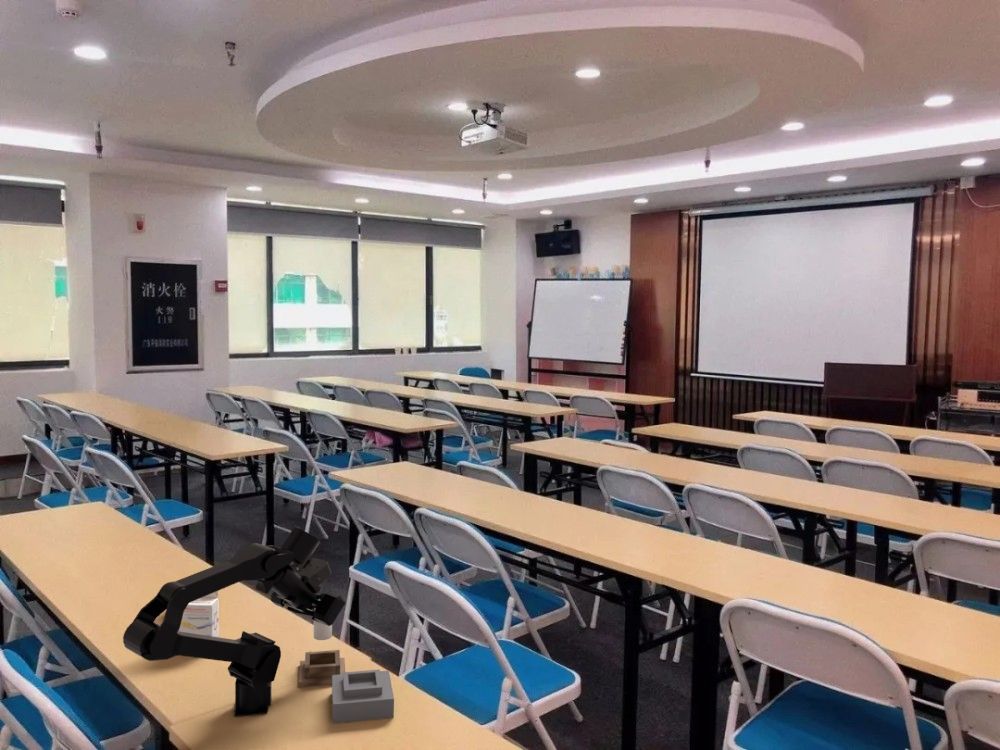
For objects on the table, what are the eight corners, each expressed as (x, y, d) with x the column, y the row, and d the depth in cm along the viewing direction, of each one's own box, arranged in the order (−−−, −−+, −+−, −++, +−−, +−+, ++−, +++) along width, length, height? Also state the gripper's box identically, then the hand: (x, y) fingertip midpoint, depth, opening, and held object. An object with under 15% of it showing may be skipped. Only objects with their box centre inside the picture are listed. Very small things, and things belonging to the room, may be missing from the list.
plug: (323, 641, 164) (324, 606, 163) (309, 637, 165) (310, 602, 165) (335, 635, 167) (336, 600, 167) (321, 631, 169) (322, 596, 168)
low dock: (298, 686, 161) (298, 671, 161) (300, 665, 171) (300, 650, 170) (345, 682, 163) (345, 667, 163) (344, 661, 173) (344, 647, 173)
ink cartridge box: (175, 652, 175) (174, 591, 174) (183, 643, 180) (183, 584, 179) (212, 653, 175) (211, 592, 174) (219, 643, 180) (219, 584, 179)
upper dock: (332, 723, 147) (333, 697, 147) (331, 693, 159) (332, 668, 158) (393, 717, 150) (394, 691, 150) (388, 688, 162) (389, 663, 161)
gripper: (339, 560, 156) (376, 596, 166) (282, 542, 167) (319, 577, 177) (309, 608, 150) (349, 642, 160) (252, 586, 161) (292, 619, 171)
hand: (327, 618), depth 167 cm, fingers closed on plug, 4 cm apart
